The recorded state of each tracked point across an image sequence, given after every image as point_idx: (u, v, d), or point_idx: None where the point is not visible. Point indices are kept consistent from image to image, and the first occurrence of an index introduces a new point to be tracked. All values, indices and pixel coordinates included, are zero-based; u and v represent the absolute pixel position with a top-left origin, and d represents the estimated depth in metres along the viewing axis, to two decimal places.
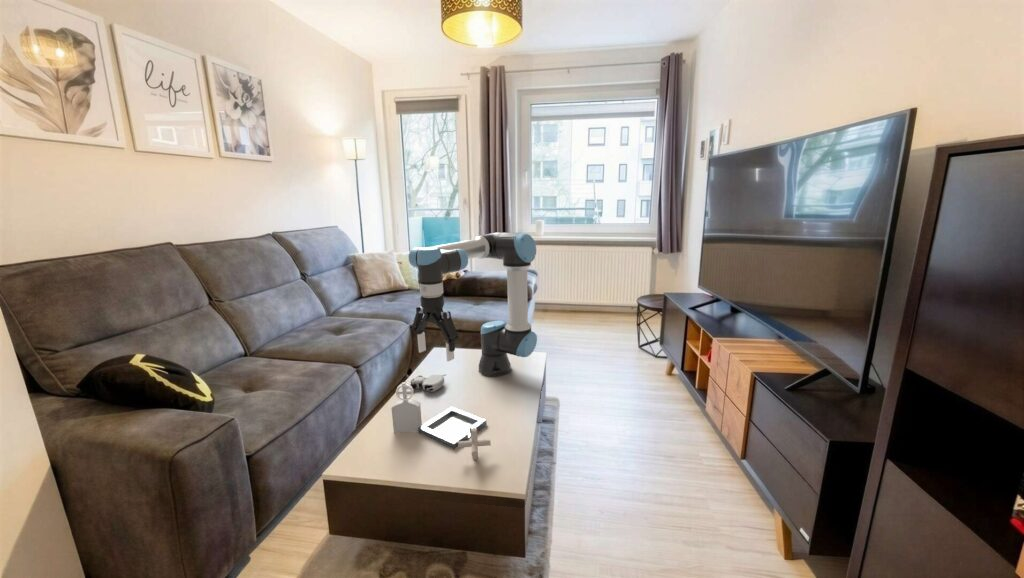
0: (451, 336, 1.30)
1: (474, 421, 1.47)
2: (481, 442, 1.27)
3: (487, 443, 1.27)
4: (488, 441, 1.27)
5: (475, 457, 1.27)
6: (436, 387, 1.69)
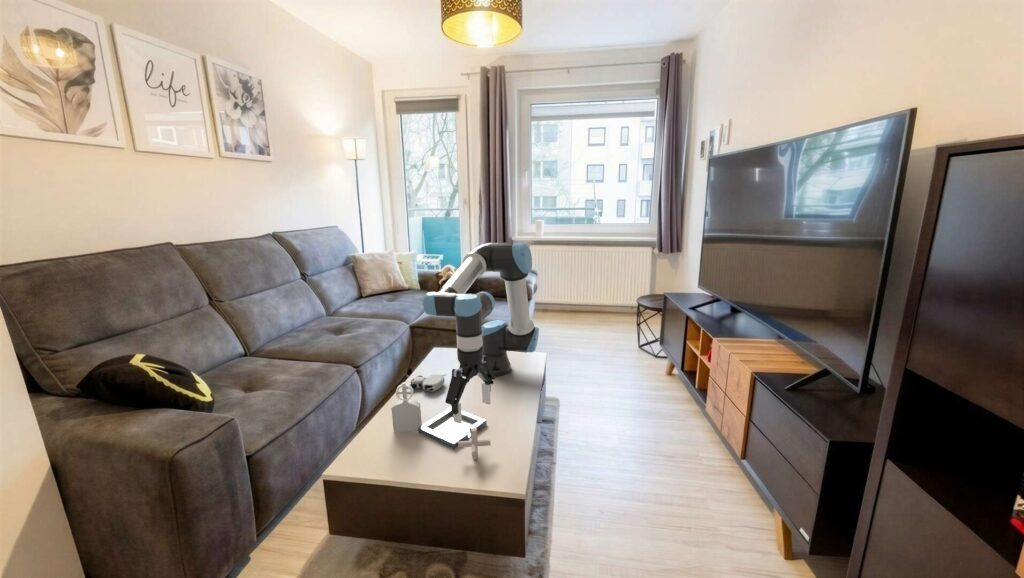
0: None
1: (474, 421, 1.47)
2: (481, 442, 1.27)
3: (487, 443, 1.27)
4: (488, 441, 1.27)
5: (475, 457, 1.27)
6: (436, 387, 1.69)
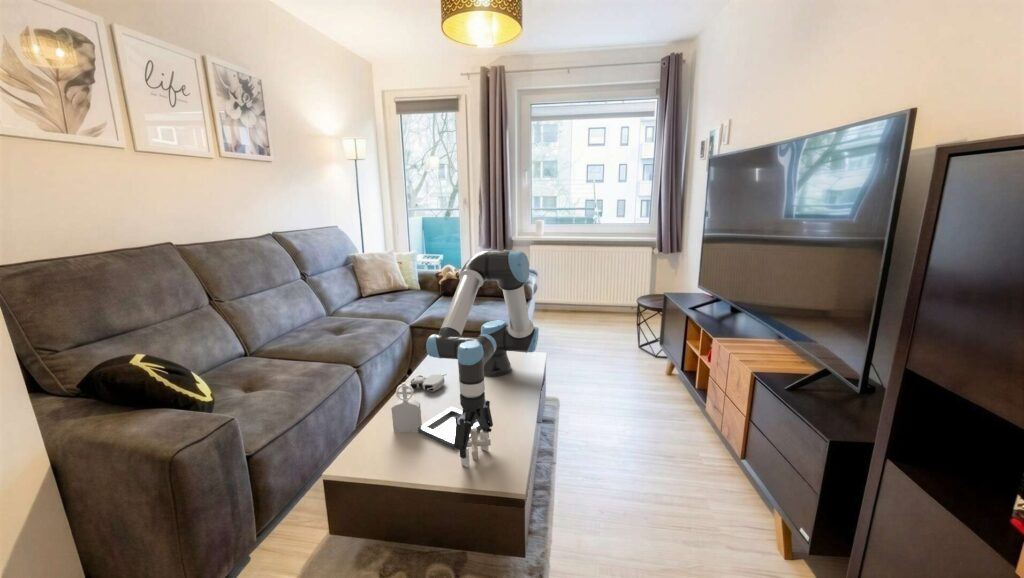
0: None
1: None
2: (481, 442, 1.27)
3: (487, 443, 1.27)
4: (488, 441, 1.27)
5: (475, 457, 1.27)
6: (436, 387, 1.69)
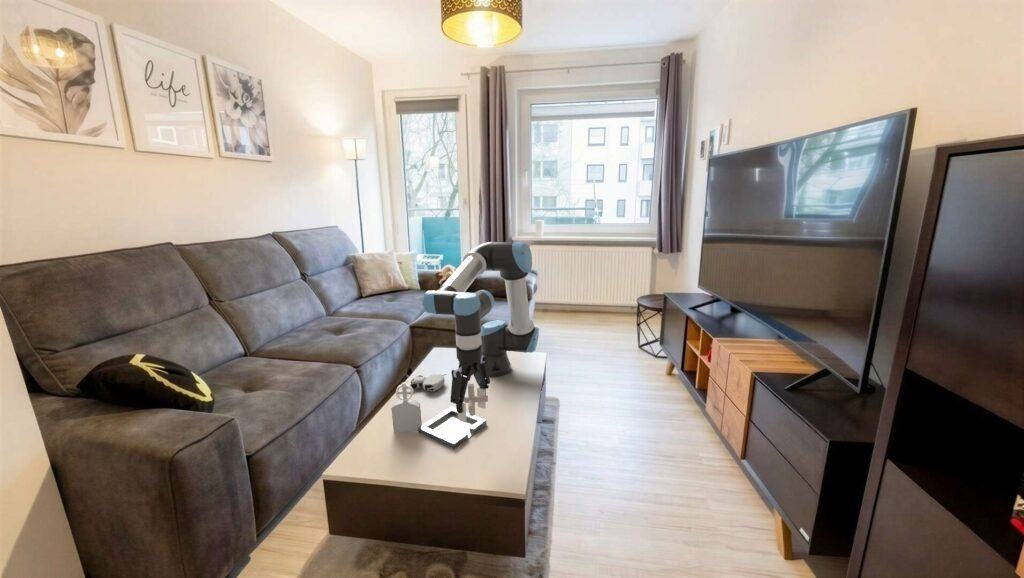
0: None
1: (474, 421, 1.47)
2: (478, 398, 1.24)
3: (484, 398, 1.24)
4: (485, 397, 1.24)
5: (472, 413, 1.25)
6: (436, 387, 1.70)
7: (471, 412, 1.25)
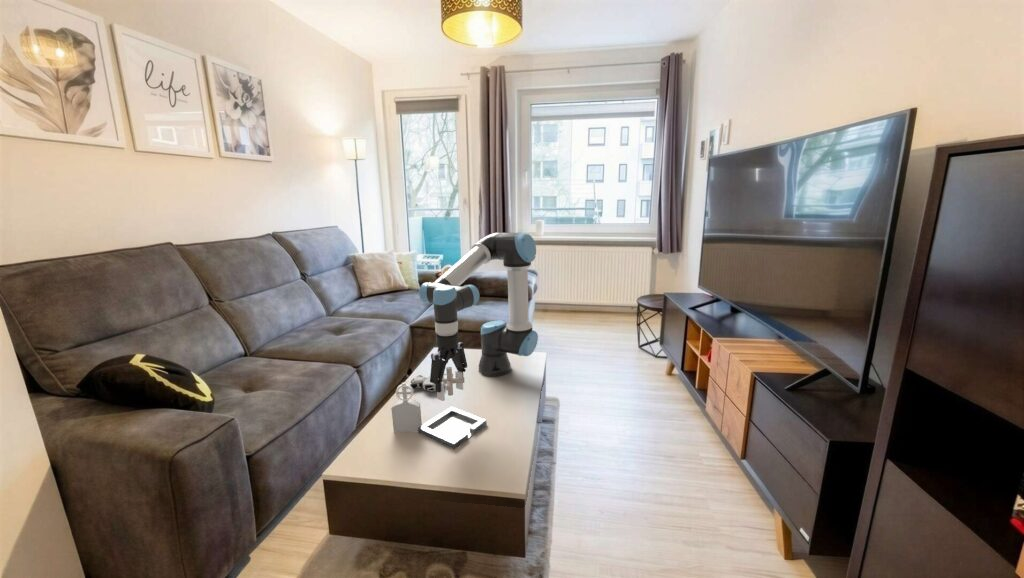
0: None
1: (474, 421, 1.47)
2: (455, 379, 1.39)
3: (461, 380, 1.39)
4: (462, 379, 1.40)
5: (450, 393, 1.40)
6: None
7: (449, 392, 1.40)
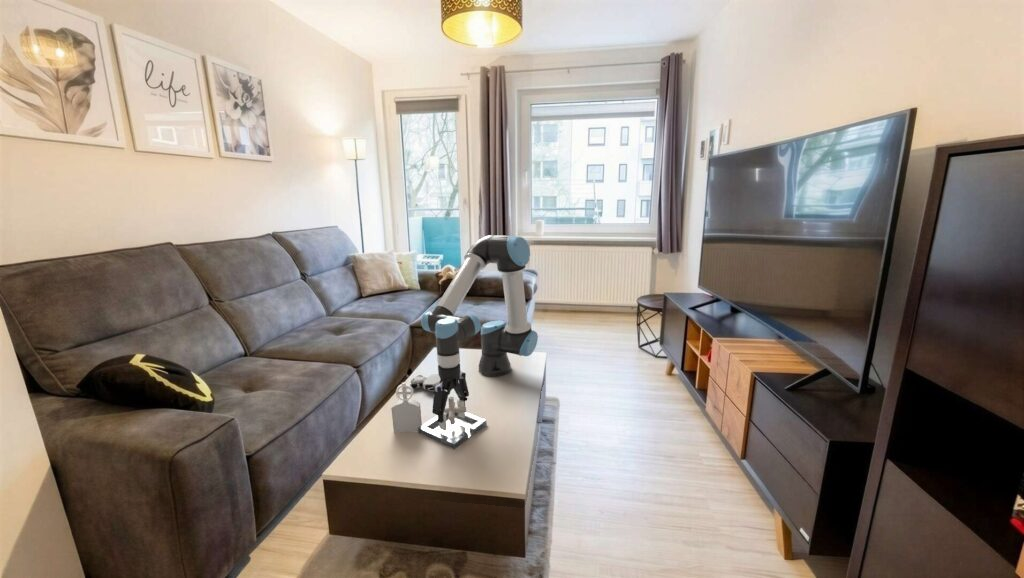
0: None
1: (474, 421, 1.47)
2: (457, 409, 1.42)
3: (463, 409, 1.42)
4: (464, 408, 1.42)
5: (452, 422, 1.43)
6: None
7: (451, 421, 1.43)
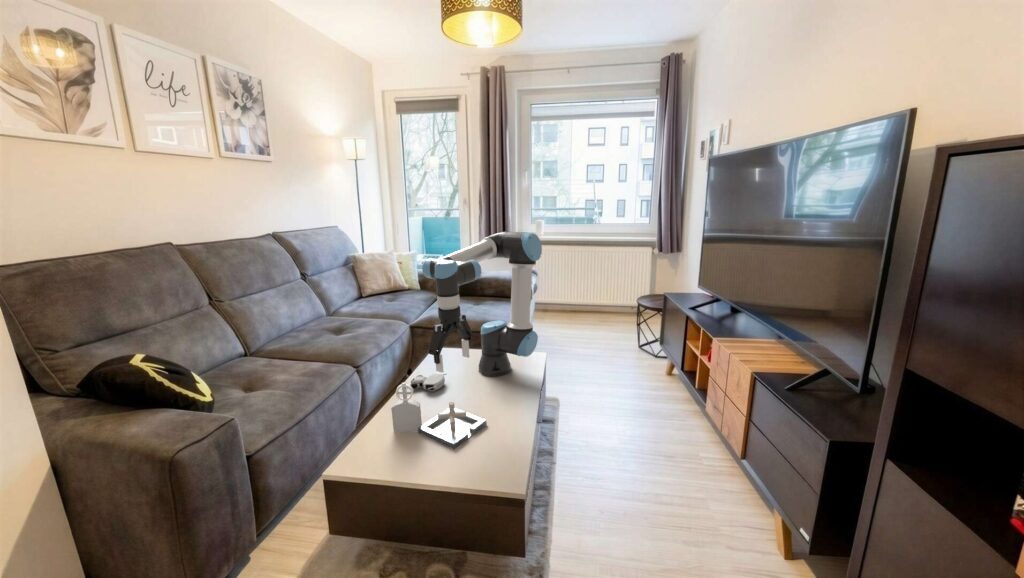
0: None
1: (474, 421, 1.47)
2: (458, 414, 1.42)
3: (463, 414, 1.43)
4: (464, 413, 1.43)
5: (453, 427, 1.43)
6: (437, 386, 1.70)
7: (452, 426, 1.43)
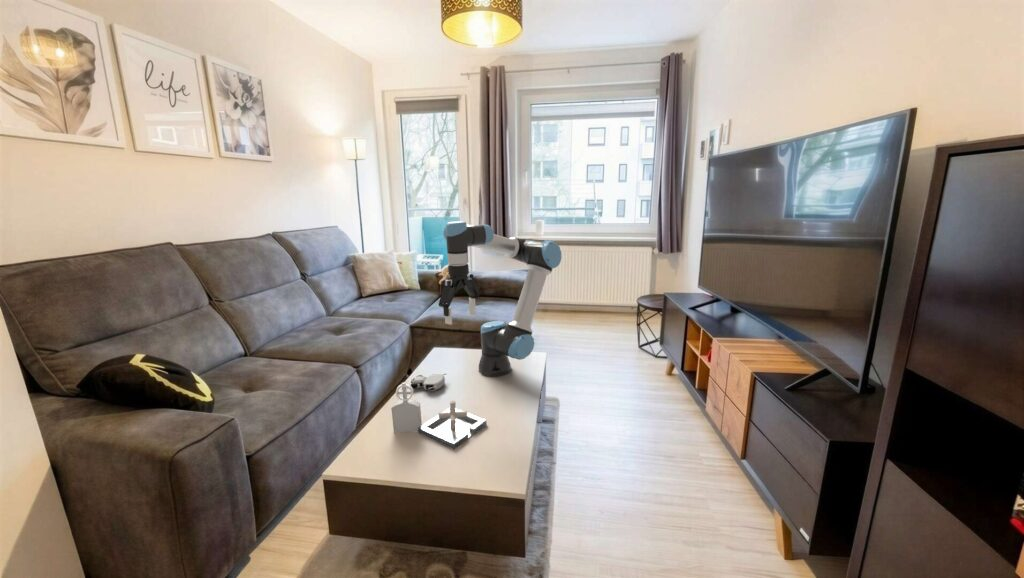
0: None
1: (474, 421, 1.47)
2: (458, 413, 1.43)
3: (464, 414, 1.43)
4: (465, 412, 1.43)
5: (453, 427, 1.43)
6: (437, 386, 1.70)
7: (452, 426, 1.43)
